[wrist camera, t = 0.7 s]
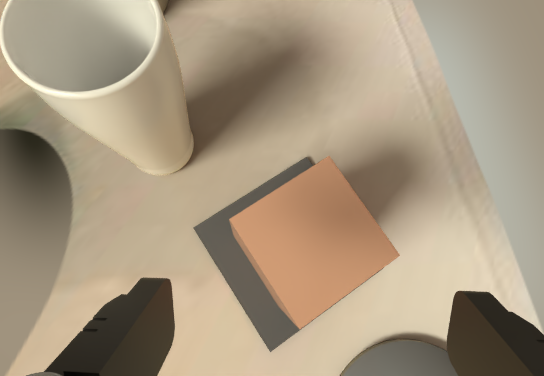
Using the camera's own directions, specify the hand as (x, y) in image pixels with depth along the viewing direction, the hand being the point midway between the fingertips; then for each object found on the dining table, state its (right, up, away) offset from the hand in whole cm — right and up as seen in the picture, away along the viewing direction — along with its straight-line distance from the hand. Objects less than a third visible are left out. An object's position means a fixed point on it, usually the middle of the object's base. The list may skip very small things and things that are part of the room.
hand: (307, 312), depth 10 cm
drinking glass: (-10, +7, +19) cm, 23 cm away
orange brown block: (0, -1, +18) cm, 18 cm away
